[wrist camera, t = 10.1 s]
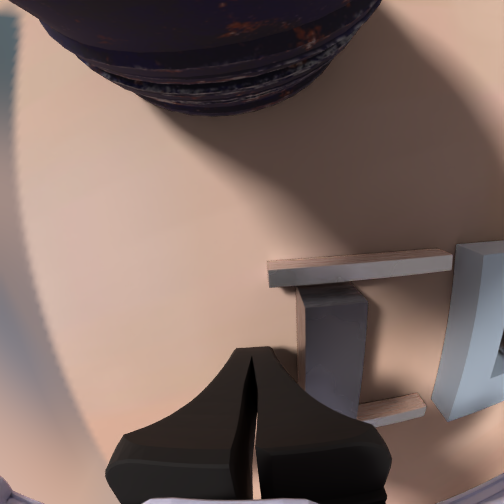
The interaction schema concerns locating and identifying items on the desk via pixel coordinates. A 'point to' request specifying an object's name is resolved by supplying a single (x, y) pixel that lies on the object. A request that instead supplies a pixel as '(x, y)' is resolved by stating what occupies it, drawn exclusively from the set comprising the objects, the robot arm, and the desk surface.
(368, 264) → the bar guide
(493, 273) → the socket block
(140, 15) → the storage jar
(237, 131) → the desk surface
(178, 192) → the desk surface
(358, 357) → the bar
